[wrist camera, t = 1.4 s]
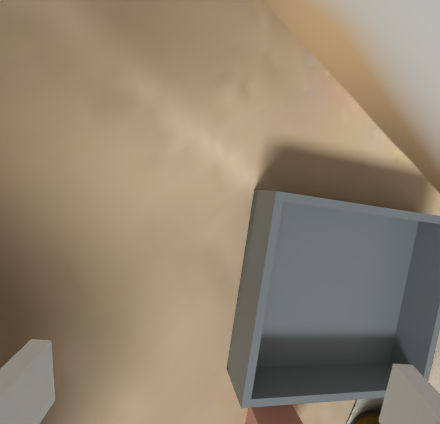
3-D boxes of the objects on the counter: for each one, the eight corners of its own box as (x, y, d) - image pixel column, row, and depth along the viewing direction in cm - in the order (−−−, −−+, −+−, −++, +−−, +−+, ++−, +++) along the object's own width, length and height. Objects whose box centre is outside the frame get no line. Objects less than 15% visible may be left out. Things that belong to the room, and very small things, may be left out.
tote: (386, 363, 33) (425, 394, 28) (226, 368, 28) (241, 408, 23) (417, 214, 32) (463, 219, 27) (254, 189, 26) (276, 190, 21)
